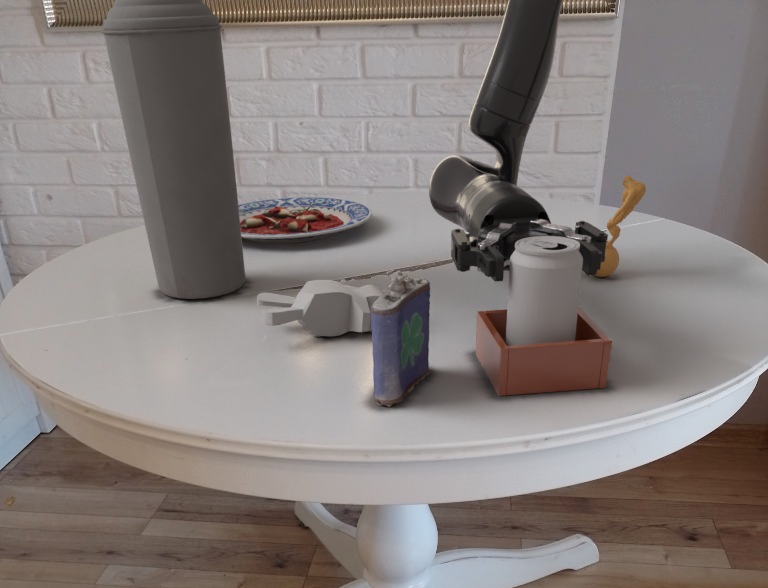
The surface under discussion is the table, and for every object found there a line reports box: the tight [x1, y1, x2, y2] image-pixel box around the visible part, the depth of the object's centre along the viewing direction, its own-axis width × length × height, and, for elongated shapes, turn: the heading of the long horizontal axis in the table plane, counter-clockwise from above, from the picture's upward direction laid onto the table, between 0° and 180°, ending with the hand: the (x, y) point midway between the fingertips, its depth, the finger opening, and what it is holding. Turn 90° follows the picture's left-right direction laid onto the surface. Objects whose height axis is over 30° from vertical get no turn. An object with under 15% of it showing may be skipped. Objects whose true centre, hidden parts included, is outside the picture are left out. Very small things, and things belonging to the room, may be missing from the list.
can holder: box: [475, 306, 613, 397], centre depth 75 cm, size 10×10×4 cm
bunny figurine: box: [256, 279, 385, 338], centre depth 86 cm, size 10×5×15 cm
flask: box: [371, 269, 431, 408], centre depth 71 cm, size 9×3×11 cm, turn 154°
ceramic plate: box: [238, 196, 373, 244], centre depth 125 cm, size 26×26×3 cm
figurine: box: [594, 175, 647, 278], centre depth 96 cm, size 8×6×12 cm
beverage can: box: [506, 236, 583, 346], centre depth 73 cm, size 6×6×12 cm
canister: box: [101, 0, 246, 300], centre depth 92 cm, size 13×13×35 cm
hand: (547, 267), depth 70 cm, fingers open, 8 cm apart
